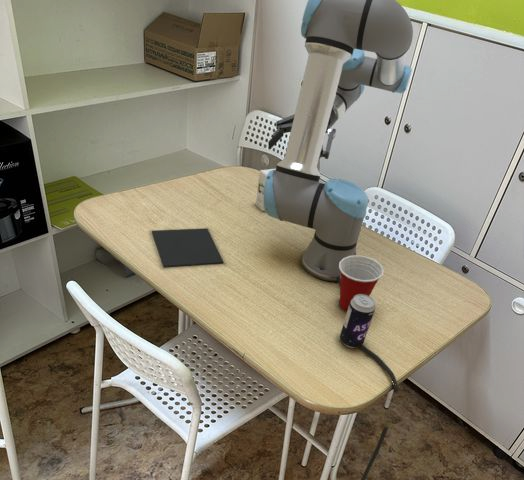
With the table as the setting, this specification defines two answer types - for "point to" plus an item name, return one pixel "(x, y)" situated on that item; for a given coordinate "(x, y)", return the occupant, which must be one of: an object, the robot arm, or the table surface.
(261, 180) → the ink box
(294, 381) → the table surface
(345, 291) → the plastic cup
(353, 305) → the beverage can
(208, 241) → the mat
